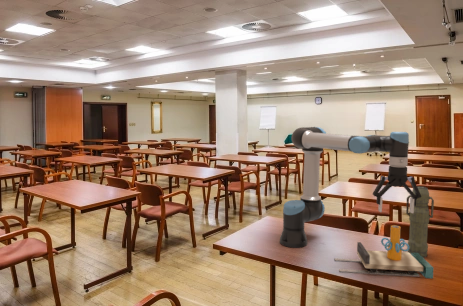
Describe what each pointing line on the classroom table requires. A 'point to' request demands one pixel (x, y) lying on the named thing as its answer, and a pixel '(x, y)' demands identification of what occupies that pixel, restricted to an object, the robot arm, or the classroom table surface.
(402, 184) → the robot arm
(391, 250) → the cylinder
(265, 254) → the classroom table surface
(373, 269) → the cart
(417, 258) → the track
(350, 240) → the classroom table surface
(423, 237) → the thermos
